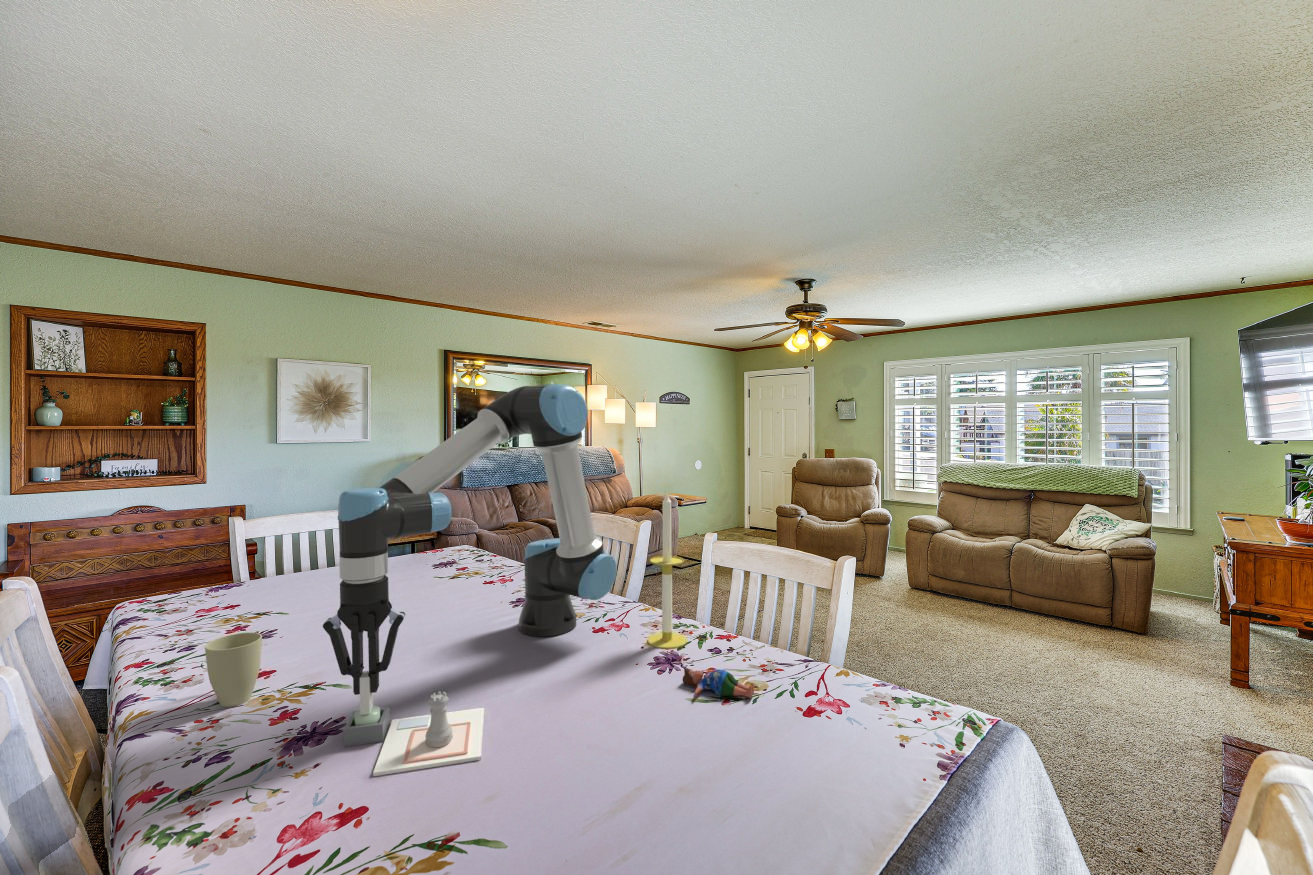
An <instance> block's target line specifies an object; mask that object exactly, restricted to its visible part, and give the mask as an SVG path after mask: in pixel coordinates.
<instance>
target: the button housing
mask: <svg viewBox="0 0 1313 875" xmlns="http://www.w3.org/2000/svg"><path fill="white" fill-rule="evenodd" d="M379 708H380V722H379V723H373V724H366V725H358V726H355V716H354V715H355V712H356V711H357V710H356V711H355V710H354V711H352V713H351V715H350V717H349V719H348V721H347V722H346V725H345V726H344V729H343V740H344V741H343V744H344V747H352V746H353V747H354V746H359V745H367V744H375V743H381V742H384V741H385V738H386V735H387V733H388V730H389V727H390V725H391V723H390V722H391V719H390V718H391V717H390V706H387V707H379Z"/></svg>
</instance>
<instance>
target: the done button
mask: <svg viewBox="0 0 1313 875" xmlns="http://www.w3.org/2000/svg"><path fill="white" fill-rule="evenodd" d="M380 708H381V707H379V706H376V705H373V708H372V710H371V712H370V714H366V715H360V708H359V709H358V710H356V712H355V715H354V716H355V726H358V725H366V724H373V723H379V722H380Z"/></svg>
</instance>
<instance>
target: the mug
mask: <svg viewBox="0 0 1313 875" xmlns="http://www.w3.org/2000/svg"><path fill="white" fill-rule="evenodd" d="M262 639H263V636H262V634H261V633H259V632H246V631H245V632H237V633H234V634H228V635H224V636H220V637H217V638H215V639H213V640H211V641H209V642H208V643H206V644H205V646H204V652H205V659H206V668H207V675H208V681H209V683H210V685H211V688H212V690H213V692H214V694H215V696H216V698H217V701H218V703H219V705H220V706H221V707H224V708H231V707H236V706H240V705H243V704H245V703H247V702H248V701H250V700H251V699H252V696H253V692H254V689H255V686H256V683H257V680H258V677H259V673H260V670H261V661H262V647H263V646H262V644H263V643H262V642H263V640H262Z"/></svg>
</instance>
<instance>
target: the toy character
mask: <svg viewBox="0 0 1313 875" xmlns="http://www.w3.org/2000/svg"><path fill="white" fill-rule="evenodd" d="M683 672H684V674H683V676H682V683H683V684H684V685H686V686H688V687H690V688H694V687H696V689H695V691H694V693H693V695H692V697H693V698H696V697H697V696H698V694H699V693H700V692H701V691H703V690H711V691H713V692H714V693H715V695H716V696H719V697H720V696H721V697H725V696H731V697H732V696H746V697H747V698H750V699H752V698H753V696H754V694H755V683H754V682H751V684H750V685H749V687H748V686H746V685H745V684H743V683H741V682H740V681H738V680H737V678H736V677H734V675H733V674H732V673H730V672H729V671H727V670H725V669H720V668H719V669H713V670H711V671H709V672H707V673H706V674H705V675H704V672H703V671H702V670H693V669H690V668H687V667H684V668H683Z"/></svg>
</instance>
